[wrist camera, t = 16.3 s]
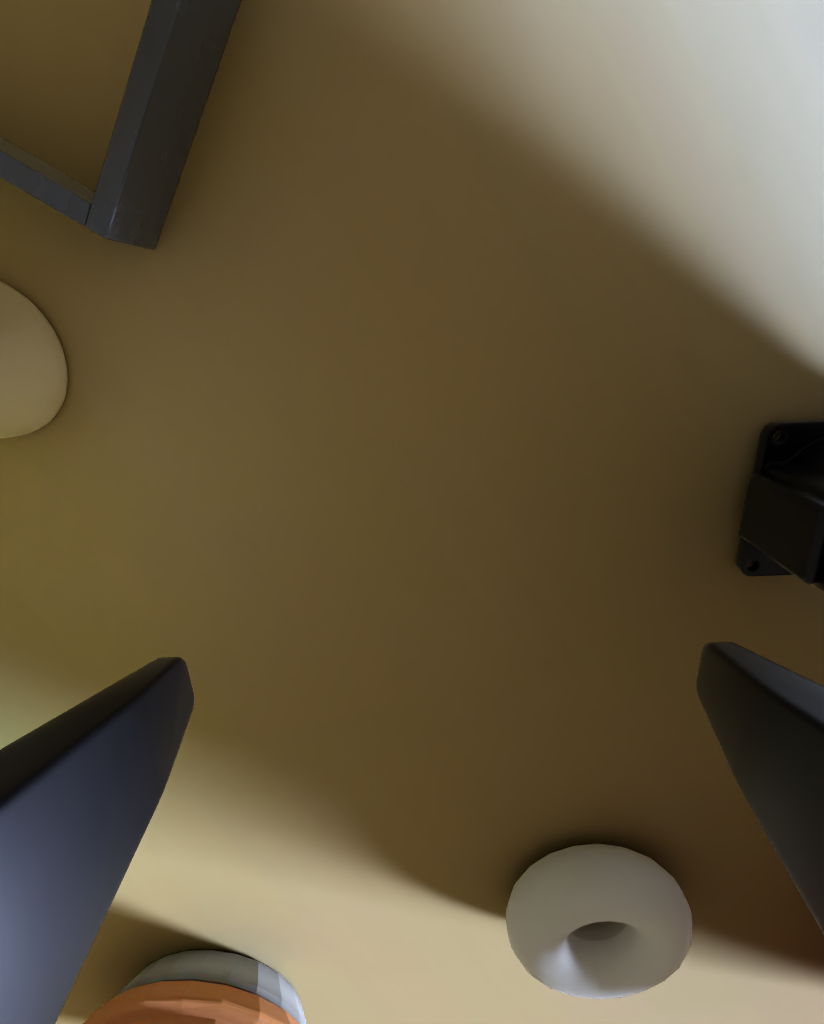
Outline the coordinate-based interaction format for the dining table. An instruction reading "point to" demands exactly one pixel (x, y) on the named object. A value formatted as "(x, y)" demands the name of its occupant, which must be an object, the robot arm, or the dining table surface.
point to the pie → (203, 993)
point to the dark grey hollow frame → (141, 127)
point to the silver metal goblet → (28, 366)
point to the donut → (598, 922)
